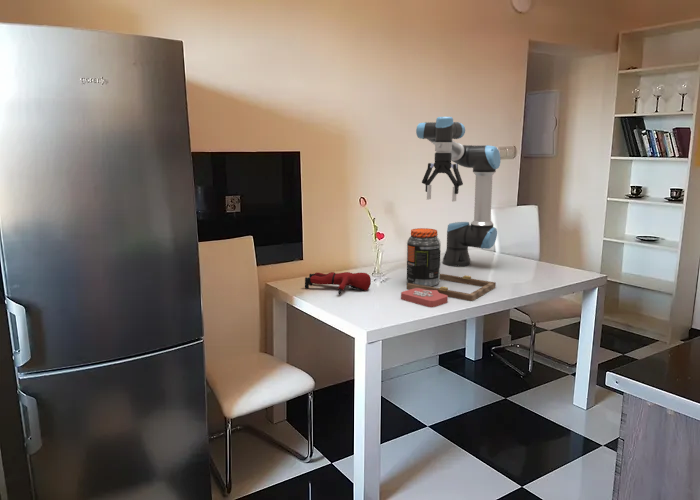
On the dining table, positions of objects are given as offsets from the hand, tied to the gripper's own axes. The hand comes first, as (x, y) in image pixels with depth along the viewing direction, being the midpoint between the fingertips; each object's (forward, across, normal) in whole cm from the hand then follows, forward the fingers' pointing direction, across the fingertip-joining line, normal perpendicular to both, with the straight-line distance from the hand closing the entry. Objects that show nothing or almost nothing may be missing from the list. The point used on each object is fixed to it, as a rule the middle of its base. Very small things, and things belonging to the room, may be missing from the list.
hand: (441, 200), depth 247 cm
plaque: (+41, +6, -23) cm, 48 cm away
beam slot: (+40, +6, 0) cm, 41 cm away
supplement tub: (+41, -8, 0) cm, 41 cm away
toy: (+41, -35, -31) cm, 62 cm away
